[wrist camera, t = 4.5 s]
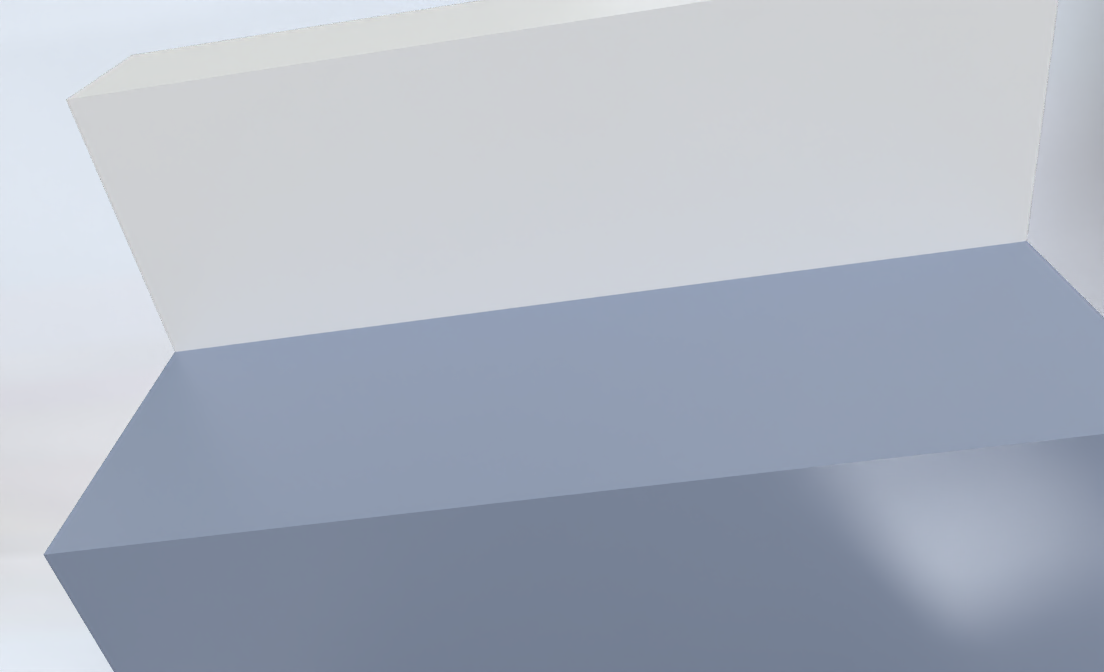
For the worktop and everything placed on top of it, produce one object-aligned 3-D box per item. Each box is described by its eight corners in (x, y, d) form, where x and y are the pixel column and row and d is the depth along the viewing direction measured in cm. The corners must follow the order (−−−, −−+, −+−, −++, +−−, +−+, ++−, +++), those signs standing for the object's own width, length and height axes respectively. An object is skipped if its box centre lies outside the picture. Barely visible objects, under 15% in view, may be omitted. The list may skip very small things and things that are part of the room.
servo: (793, -148, 7) (1628, 142, 2) (801, 641, 12) (1020, 1408, 7) (314, -69, 8) (-390, 401, 2) (508, 670, 13) (471, 1425, 7)
